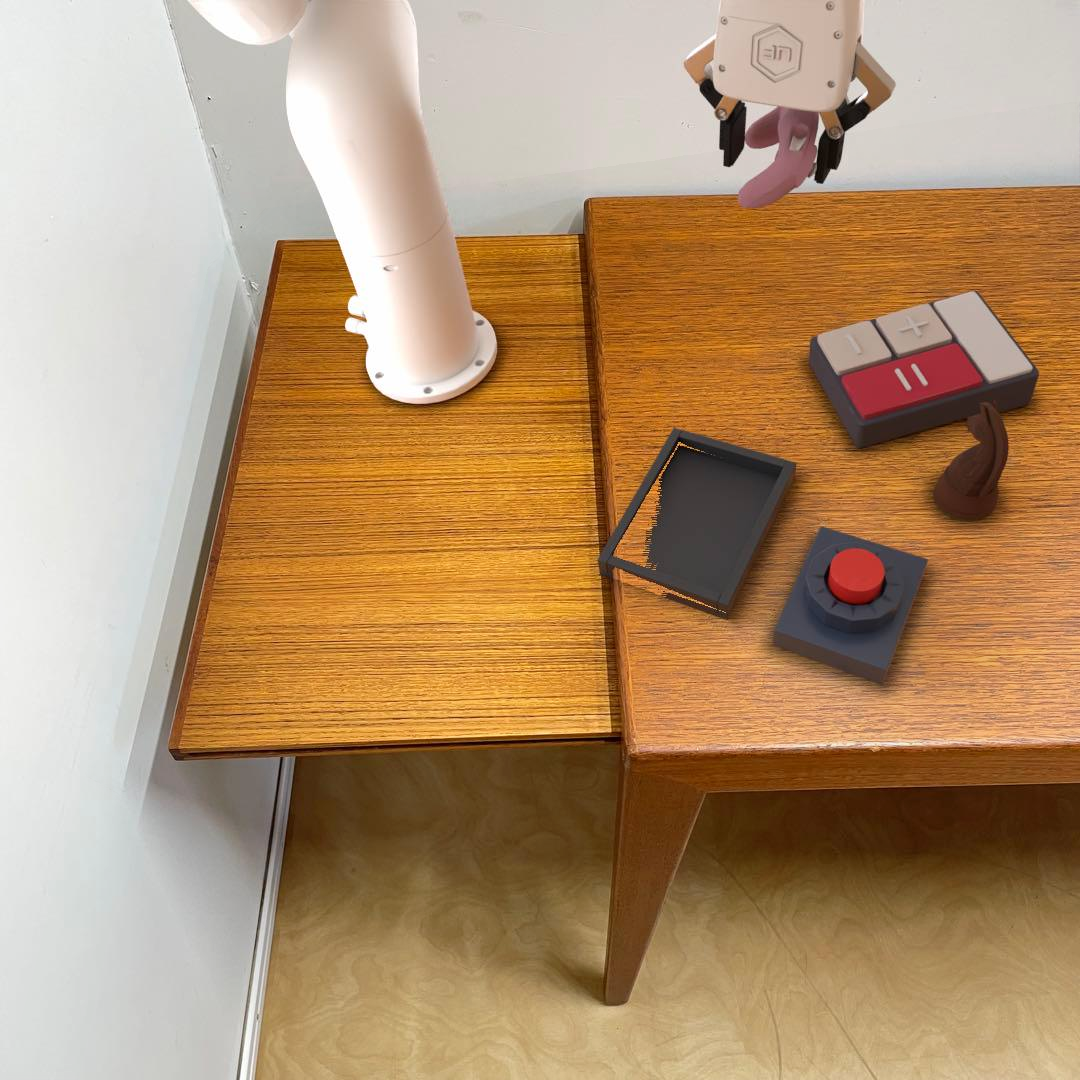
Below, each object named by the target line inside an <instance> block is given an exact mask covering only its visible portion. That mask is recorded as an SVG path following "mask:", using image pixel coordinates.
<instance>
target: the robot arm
mask: <svg viewBox="0 0 1080 1080" xmlns="http://www.w3.org/2000/svg"><path fill="white" fill-rule="evenodd" d="M186 1H187V2H188V3H189V4H190V5H191V6H192V7H193V9H195V11H196V12H198V14H199V15H200V16H201V17H203V18H204V19H205V21H207V23H208V24H210V25H211V26H212V27H213V28H214V29H215V30H217V31H219V33H222V34H223V35H225V36H227V37H228V38H229V39H231V40H234V41H237V42H240V43H241V44H242V43H243V44H245V45H251V46H253V45H256V46H264V45H271V44H274V43H276V42H278V41H280V40H282V39H284V38H285V37H287V36H289V37H290V38H291V40H292V42H291V46H290V50H289V57H288V58H289V59H288V65H287V71H286V81H285V105H286V115H287V120H288V125H289V129H290V133H291V135H292V138H293V141H294V144H295V146H296V148H297V150H298V152H299V154H300V156H301V158H302V160H303V162H304V164H305V165H306V168H307V170H308V172H309V174H310V175H311V177H312V179H313V181H314V183H315V186H316V188H317V190H318V192H319V195H320V197H321V199H322V203H323V205H324V207H325V210H326V212H327V215H328V218H329V220H330V223H331V226H332V227H333V231H334V235H335V238H336V239H337V242H338V243H339V246H340V247H339V248H340V249H341V253H342V255H343V258H344V260H345V263H346V266H347V269H348V272H349V275H350V277H351V280H352V283H353V286H354V288H355V292H356V294H354V295H352V296H351V297H350V298H349V300H348V302H347V303H348V305H347V309H348V312H349V314H350V315H353V316H356V317H359V318H362V319H359V318H356V317H352V316H351V317H348V318H347V319H346V321H345V323H344V324H345V325H344V327H345V328H344V329H345V330H346V332H349V333H353V334H356V335H363V336H364V338H365V340H366V343H367V346H368V348H367V350H366V354H365V367H366V371H367V374H368V376H369V379H370V381H371V383H372V385H373V386H374V387H375V389H377V390H378V391H379V392H380V393H381V394H382V395H384V396H386V397H387V398H390V399H391V400H395V401H398V402H401V403H407V404H413V405H423V404H424V405H427V404H433V403H434V404H435V403H440V402H444V401H447V400H450V399H454V398H455V397H458V396H460V395H462V394H464V393H466V392H467V391H469V390H471V389H472V388H474V387H475V386H477V385H478V384H479V383H480V382H481V381H482V380H483V379H484V378H485V377H486V376H487V375H488V373H489V372H490V371H491V370H492V368H493V366H494V364H495V362H496V359H497V355H498V341H497V337H496V333H495V330H494V328H493V326H492V324H491V323H490V322H489V320H488V319H487V318H486V317H484V316H483V315H482V314H480V313H479V312H478V311H476V310H473V307H472V306H473V305H472V302H471V298H470V295H469V289H468V286H467V282H466V277H465V274H464V273H465V272H464V269H463V265H462V261H461V257H460V253H459V249H458V245H457V240H456V237H455V233H454V229H453V225H452V219H451V216H450V211H449V208H448V205H447V202H446V198H445V193H444V190H443V185H442V182H441V178H440V174H439V170H438V167H437V163H436V160H435V157H434V153H433V150H432V147H431V144H430V140H429V138H428V134H427V133H428V132H427V130H426V125H425V121H424V115H423V110H422V103H421V95H420V77H419V76H420V74H419V73H420V72H419V69H420V68H419V41H418V32H417V31H418V30H417V24H416V19H415V16H414V13H413V10H412V7H411V4H410V3H409V0H186ZM865 3H866V1H865V0H719V6H718V14H717V22H716V28H715V29H716V30H715V34H714V35H713V36H711V37H710V38H708V39H707V40H706V41H705V42H703V43H701V44H700V45H699V46H698V47H696V48H694V49H693V50H692V51H691V52H690V53H689V55H688V56H686V59H685V60H684V62H683V67H684V69H685V70H686V72H687V73H688V75H689V76H690V78H691V79H692V81H694V83H695V84H696V85H697V86H698V87H699V92H700V94H701V95H702V97H704V99H705V100H706V101H707V102H708V103H709V104H710V106H711V107H712V108H713V109H714V111H713V113H714V117H715V118H716V120H719V135H718V137H719V138H718V140H719V141H718V143H719V144H718V148H719V150H721V151H723V158H722V159H723V161H722V166H723V167H725V168H731V167H734V165H735V164H736V162H737V160H738V159H739V157H740V155H741V154H742V152H743V151H744V150H745V149H744V148H745V144H746V142H745V134H746V128H747V127H746V126H747V112H748V111H747V109H748V108H747V106H746V102H747V103H753V104H760V105H766V106H771V107H784V108H791V109H797V110H804V111H812V112H819V117H820V119H821V121H822V124H823V126H824V130H823V131H822V133H821V136H820V137H819V139H818V143H817V155H816V159H815V162H816V163H817V169H816V172H815V174H814V177H813V181H814V182H815V183H816V184H819V185H824V183H825V181H826V179H827V178H828V176H829V174H830V172H831V170H834V171H836V170H837V171H838V168H839V166H840V163H841V162H842V158H843V151H844V145H845V138H846V137H845V136H846V132H848V131H849V130H850V129H852V128H853V127H855V126H856V125H858V124H859V123H861V122H862V121H864V120H865V119H867V117H868V115H870V114H871V113H872V112H874V111H875V110H876V109H878V108H879V107H880V106H881V105H883V104H884V103H885V102H887V101H888V100H889V99H890V97H891V96H892V94H893V93H894V91H895V89H896V86H897V83H896V81H895V79H894V78H893V77H892V76H891V75H890V74H889V73H888V71H886V70H885V69H884V67H882V65H881V64H880V63H879V62H878V61H877V60H876V58H875V57H874V56H872V54H871V53H870V52H869V51H868V50H867V49H866V47H865V46H864V45H863V39H864V38H863V37H864V23H865V6H866V5H865ZM711 62H713V63H712V64H711ZM856 79H858V81H859V82H860V83H861V84H862V85H863V86H864V87H865V89H866V90H867V91H866V92H864V93H862V94H861V95H859V96H857V97H856V98H855V99H853V100H852V101H850V98H849V96H848V92H849V89H850V85H851V83H852V82H854V81H855V80H856ZM363 318H364V319H365V320H366V321H364V320H363Z"/></svg>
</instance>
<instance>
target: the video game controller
mask: <svg viewBox="0 0 1080 1080" xmlns="http://www.w3.org/2000/svg"><path fill="white" fill-rule="evenodd" d="M819 122H820V114H819V112H812V111H804V110H797V109H791V108H784V107H778V106H775V108H774V109H772V110H771V111H769V112H768V113H766V114H764V115H763V116H761V117H759V118H757V120H755V121H754V122H753V123H751V125H750V126H749V127H748V128H747V130H746V131H745V144H746V145H747V146H748V148H750V149H754V150H762V149H766V148H770V147H773V146H775V145H777V144H778V148H777V151H776V153H775V157H774V161H773V162H772V163H771V164H769V166H768V167H766V168H765V169H764V170H762V171H761V172H760V173H758V174H757V175H755V176H754V177H753V178H750V179H749V180H748V181H746V182H745V183H744V184H743V186H742V187H741V188H740V189H739V191H738V194H737V202H738V203H739V205H740V206H741V207H742V208H745V209H751V210H753V209H761V208H764V207H767V206H770V205H773V204H774V203H776V202H778V201H779V200H781V199H783V198H784V197H785V196H787V195H788V194H789V193H790V192H792V191H793V190H794V189H798V188H799V187H800V186H802V184H804V182H805V181H806V179H807V178H808V179H810V178H812V177H813V176H815V172H816V169H817V163H816V159H817V152H818V145H816V144H815V143H816V140H817V135H818V130H819Z"/></svg>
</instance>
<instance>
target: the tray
mask: <svg viewBox="0 0 1080 1080" xmlns="http://www.w3.org/2000/svg"><path fill="white" fill-rule="evenodd" d="M678 442H681V443H683V444H685V445H687V446H689V447H692V448H694V449H698V450H700V451H697V450H694V449H690V448H687V447H684V446H680V445H679V446H678V448H677V450H676V451H675V453H674V455H673V457H672V458H671V460H670V462H669V464H668V465H667V467H666V469H665V471H664V472H663V474H662V476H661V478H662V479H659V481H662V482H659V483H660V484H661V485H660V486H658V487H661V489H658V490H662V491H657V492H660V494H658V495H662V496H659V498H660V499H659V501H660V502H658V503H660V504H659V505H656V506H661V507H656V508H661V509H656V510H655V511H659V512H656V513H660V514H657V515H655V516H657V517H651V518H657V519H652V520H656V521H657V522H652V523H657V524H652V525H657V526H652V527H653V528H652V529H650V530H652V531H646V532H652V533H646V534H652V535H646V536H650V537H646V538H647V539H646V540H645V541H651V542H645V543H652V544H645V545H649V546H650V547H649V546H646V547H647V548H650V549H645V550H650V551H643V552H649V553H643V554H649V555H642V556H648V558H649V559H647V562H646V563H652V564H646V565H651V566H645V567H643V566H640V565H637V564H635V563H632V562H629V561H626V560H623V559H620V558H617V557H614V556H613V554H614V551H615V549H616V547H617V545H618V543H619V542H620V540H621V539H622V537H623V535H624V534H625V532H626V530H627V529H628V527H629V525H630V523H631V522H632V520H633V518H634V517H635V515H636V513H637V511H638V509H639V508H640V506H641V504H642V502H643V501H644V499H645V497H646V495H647V494H648V493H649V491H650V489H651V487H652V485H653V484H654V483H655V481H656V479H657V478H658V476H659V474H660V473H661V471H662V470H663V468H664V466H665V464H666V463H667V461H668V460H669V458H670V456H671V455H672V453H673V452H674V450H675V448H676V446H677V444H678ZM701 451H704V452H706V453H704V452H701ZM707 453H708V454H707ZM711 454H712V455H711ZM714 455H715V456H714ZM721 457H722V458H721ZM796 472H797V462H795V461H792V460H788V459H785V458H782V457H778V456H775V455H771V454H769V453H764V452H760V451H757V450H754V449H750V448H747V447H742V446H741V445H736V444H733V443H729V442H726V441H722V440H718V439H715V438H712V437H709V436H705V435H703V434H698V433H695V432H692V431H689V430H684V429H681V428H677V427H673V428H672V430H671V432H670V433H669V435H668V437H667V439H666V440H665V442H664V444H663V445H662V447H661V449H660V451H659V452H658V454H657V456H656V458H655V459H654V461H653V463H652V465H651V466H650V468H649V470H648V471H647V473H646V475H645V476H644V479H643V480H642V482H641V483H640V485H639V486H638V488H637V490H636V492H635V494H634V495H633V497H632V499H631V501H630V502H629V504H628V506H627V508H626V509H625V511H624V513H623V514H622V516H621V518H620V520H619V522H618V523H617V525H618V526H617V525H616V526H615V528H614V530H613V532H612V534H611V536H610V537H609V539H608V540H607V542H606V544H605V546H604V547H603V549H602V551H601V552H600V553H599V556H598V558H597V565H598V573H599V575H600V576H602V577H606V578H607V579H611V580H614V579H613V573H612V570H613V569H614V568H615V567H616V568H617V567H618V568H619V569H622V570H623V571H625V572H628V573H630V574H633V575H635V576H637V577H640V578H642V579H646V580H647V581H649V582H653V583H656V584H658V585H660V586H663V587H665V588H667V589H669V590H673V591H675V592H678V593H679V594H682V595H684V596H686V597H690V598H692V599H694V600H697V601H700V602H702V603H704V604H706V605H708V606H711V607H713V608H716V609H717V610H716V609H713V608H710V607H708V606H705V605H702V604H699V603H696V602H694V601H691V600H688V599H685V598H682V597H679V596H677V595H674V594H671V593H662V594H667V595H661V596H666V597H663V598H664V599H665V600H666V599H667V600H669V601H672V602H675V603H678V604H680V605H682V606H686V607H689V608H692V609H694V610H697V611H699V612H703V613H705V614H708V615H711V616H713V617H717V618H718V619H719V618H720V619H721V620H725V621H728V620H729V618H730V616H731V614H732V612H733V610H734V608H735V606H736V603H737V601H738V600H739V598H740V595H741V593H742V590H743V589H744V587H745V585H746V582H747V580H748V578H749V576H750V574H751V572H752V570H753V568H754V566H755V564H756V562H757V560H758V557H759V556H760V554H761V551H762V549H763V547H764V545H765V543H766V541H767V538H768V536H769V534H770V533H771V530H772V528H773V526H774V523H775V522H776V520H777V517H778V516H779V513H780V512H781V509H782V507H783V505H784V503H785V501H786V499H787V497H788V494H789V493H790V490H791V489H792V486H793V485H794V482H795V480H796ZM655 503H656V502H655ZM648 525H649V524H648ZM648 539H651V540H648ZM652 561H653V562H652ZM657 563H658V564H657ZM654 565H657V566H654ZM646 567H651V568H646ZM653 567H656V568H653ZM652 569H656V570H652ZM658 590H659V589H658ZM663 592H665V591H663ZM661 596H660V597H661ZM719 610H721V611H719ZM722 611H724V612H726V613H724V612H722Z"/></svg>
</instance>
